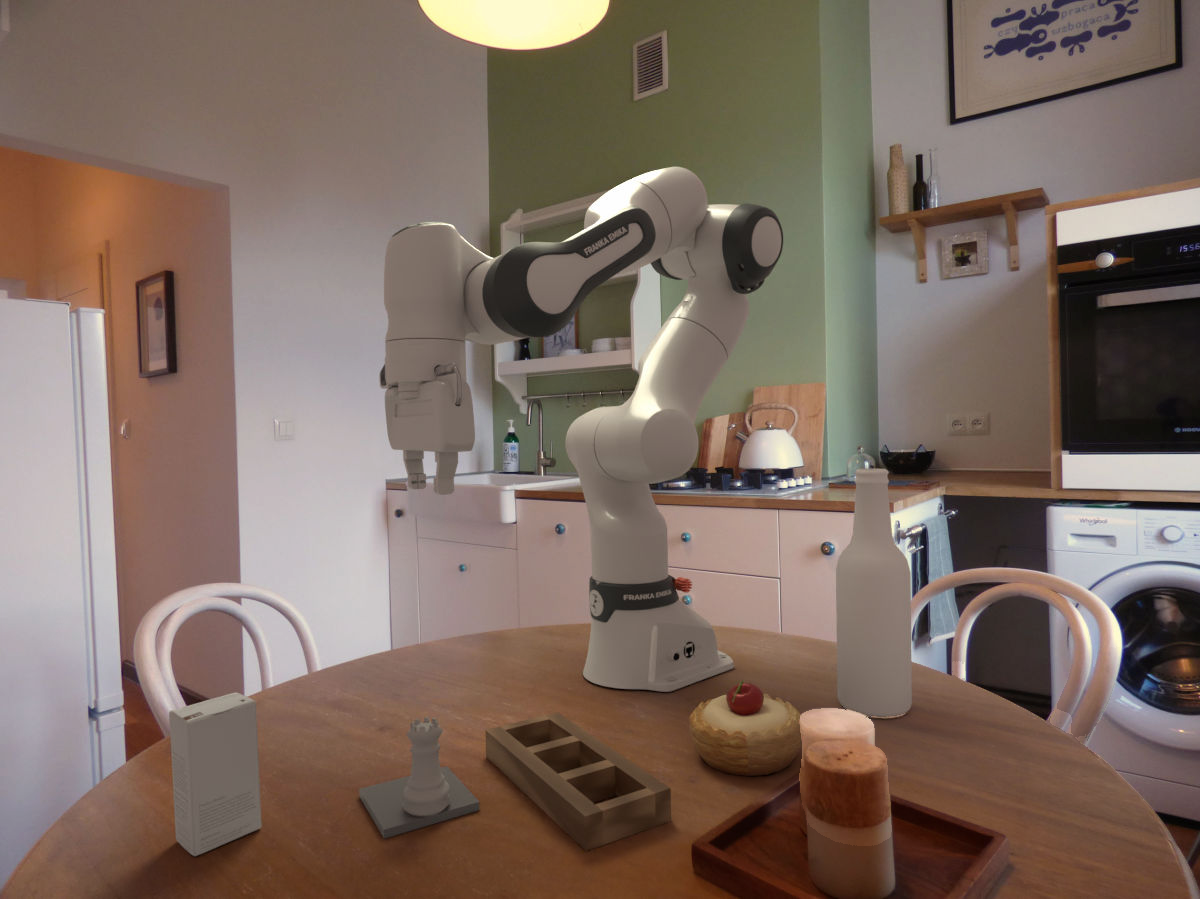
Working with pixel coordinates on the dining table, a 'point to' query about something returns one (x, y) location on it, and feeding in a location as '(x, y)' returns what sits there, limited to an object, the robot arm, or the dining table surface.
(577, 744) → the three-compartment wooden tray
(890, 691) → the alcohol
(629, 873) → the dining table surface
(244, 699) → the skincare box
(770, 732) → the pastry
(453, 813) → the coaster
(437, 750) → the rook chess piece
